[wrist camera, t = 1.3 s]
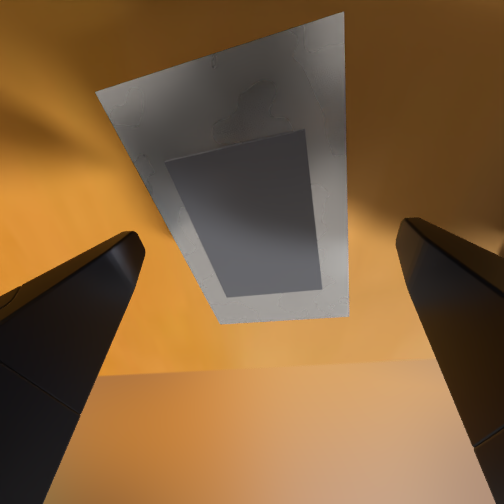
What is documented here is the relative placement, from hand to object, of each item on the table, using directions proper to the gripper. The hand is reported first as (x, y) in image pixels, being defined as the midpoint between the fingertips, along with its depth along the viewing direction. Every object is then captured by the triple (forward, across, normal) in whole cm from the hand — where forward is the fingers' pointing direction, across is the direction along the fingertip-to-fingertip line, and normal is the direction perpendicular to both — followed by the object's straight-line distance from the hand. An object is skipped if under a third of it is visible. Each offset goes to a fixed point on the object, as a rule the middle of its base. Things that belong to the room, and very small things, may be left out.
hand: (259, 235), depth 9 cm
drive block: (+5, 0, 0) cm, 5 cm away
